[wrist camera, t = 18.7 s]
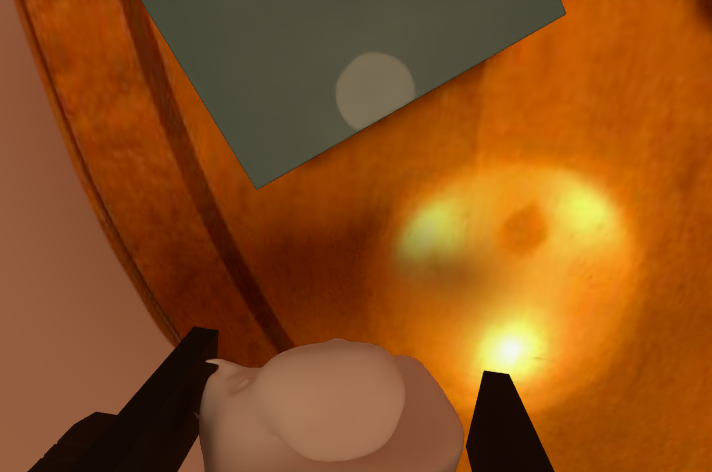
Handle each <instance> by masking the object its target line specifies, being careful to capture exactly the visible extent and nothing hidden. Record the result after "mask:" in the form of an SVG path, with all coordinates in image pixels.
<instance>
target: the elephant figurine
mask: <svg viewBox="0 0 712 472" xmlns="http://www.w3.org/2000/svg"><path fill="white" fill-rule="evenodd" d="M205 362H208V363H214V364H217V365H219V368H218V370H217V371H216V372H215V373H213V374H212V375H211V376H210V377H209V379H208V381H207V383H206V386H205V389H204V392H203V396H202V400H201V406H200V413H199V415H197V414H195V413H194V414H195V415H196V417H197V418H198V419H199V436H200V444H201V449H202V453H203V459H204V467H205V472H455V471H456V468H457V466H458V463H459V460H460V457H461V454H462V450H463V444H464V432H463V427H462V424H461V421H460V419H459V417H458V415H457V413H456V411H455V409H454V407H453V406H452V404H451V403H450V401H449V399H448V398H447V396H446V394H445V393H444V391H443V390H442V388H441V387H440V385H439V384H438V382H437V381H436V380H435V378H434V377H433V376H432V375H431V373H430V372H429V371H428V370H427V368H426V367H425V366H424V365H423V364H422V363H421V362H419V361H418V360H417V359H415V358H412V357H409V356H404V355H399V356H394V357H393V356H392V355H391V354H390V353H389V352H388V351H387V350H386V349H384V348H382V347H380V346H378V345H375V344H372V343H364V342H349V341H347V340H345V339H341V338H335V339H331V340H329V341H327V342H324V343H315V344H308V345H303V346H299V347H296V348H292V349H289V350H287V351H285V352H282V353H280V354H278V355H276V356H275V357H273V358H272V359H270V360H269V361H268V362H267V363H266V364H265V365H264V366H263V367H262V368H248V367H243V366H240V365H238V364H236V363H233V362H228V361H226V360H224V359H212V360H207V361H205Z"/></svg>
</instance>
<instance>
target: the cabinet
mask: <svg viewBox="0 0 712 472" xmlns="http://www.w3.org/2000/svg"><path fill="white" fill-rule="evenodd" d="M141 2H142V3H143V5H144V6H145V8H146V10H147V11H148V13H149V15H150V16H151V18H152V20H153V21H154V23H155V25H156V26H157V28H158V29H159V31H160V33H161V34H162V36H163V38H164V39H165V41H166V43H167V44H168V46H169V48H170V49H171V51H172V52H173V54H174V56H175V57H176V59H177V61H178V62H179V64H180V66H181V67H182V69H183V70H184V72H185V74H186V75H187V77H188V79H189V80H190V82H191V84H192V85H193V87H194V89H195V90H196V92H197V93H198V95H199V97H200V98H201V100H202V102H203V103H204V105H205V107H206V108H207V110H208V111H209V113H210V115H211V116H212V118H213V120H214V121H215V123H216V125H217V126H218V128H219V130H220V131H221V133H222V134H223V136H224V138H225V139H226V141H227V143H228V144H229V146H230V148H231V149H232V151H233V153H234V154H235V156H236V157H237V159H238V161H239V162H240V164H241V166H242V167H243V169H244V171H245V172H246V174H247V175H248V177H249V179H250V180H251V182H252V184H253V185H254V187H255V189H256V190H258V189H260V188H261V187H263V186H265V185H267V184H268V183H270V182H272V181H274V180H275V179H277V178H279V177H281V176H283V175H284V174H286V173H288V172H290V171H291V170H293V169H295V168H297V167H298V166H300V165H302V164H304V163H305V162H307V161H309V160H311V159H312V158H314V157H316V156H318V155H319V154H321V153H323V152H325V151H326V150H328V149H330V148H332V147H334V146H335V145H337V144H339V143H341V142H342V141H344V140H346V139H348V138H349V137H351V136H353V135H355V134H356V133H358V132H360V131H362V130H363V129H365V128H367V127H369V126H370V125H372V124H374V123H376V122H377V121H379V120H381V119H383V118H385V117H386V116H388V115H390V114H392V113H393V112H395V111H397V110H399V109H400V108H402V107H404V106H406V105H407V104H409V103H411V102H413V101H414V100H416V99H418V98H420V97H421V96H423V95H425V94H427V93H428V92H430V91H432V90H434V89H436V88H437V87H439V86H441V85H443V84H444V83H446V82H448V81H450V80H451V79H453V78H455V77H457V76H458V75H460V74H462V73H464V72H465V71H467V70H469V69H471V68H472V67H474V66H476V65H478V64H479V63H481V62H483V61H485V60H487V59H488V58H490V57H492V56H494V55H495V54H497V53H499V52H501V51H502V50H504V49H506V48H508V47H509V46H511V45H513V44H515V43H516V42H518V41H520V40H522V39H523V38H525V37H527V36H529V35H531V34H532V33H534V32H536V31H538V30H539V29H541V28H543V27H545V26H546V25H548V24H550V23H552V22H553V21H555V20H557V19H559V18H560V17H562V16H564V15H565V14H566V11H565V9H564V7H563V4H562V2H561V0H141Z"/></svg>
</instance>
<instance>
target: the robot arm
mask: <svg viewBox="0 0 712 472" xmlns="http://www.w3.org/2000/svg"><path fill="white" fill-rule="evenodd" d="M218 333H219V330H213V329H206V328H200V327H193V328H192V330H191V331H190V332H189V333H188V334H187V335H186V336H185V338H184V339H183V340H182V341H181V342H180V343H179V345H178V346H177V347H176V348H175V349H174V350H173V352H172V353H171V354H170V355H169V356H168V357H167V358H166V360H165V361H164V362H163V363H162V364H161V365H160V366H159V368H158V369H157V370H156V371H155V372H154V373H153V374H152V376H151V377H150V378H149V379H148V380H147V381H146V383H145V384H144V385H143V386H142V387H141V388H140V390H139V391H138V392H137V393H136V394H135V395H134V396H133V398H132V399H131V400H130V401H129V402H128V403H127V404H126V406H125V407H124V408H123V409H122V410H121V411H120V412H119V414H118V415H114V414H107V413H101V412H95V413H93V414H91V415H90V416H88V417H86V418H84V419H83V420H81V421H79V422H77V423H76V424H74V425H73V426H72V427H71V428H70V429H69V430H68V431H67V432H66V433H65V434H64V435H63V436H62V437H61V438H60V439H59V440H58V443H57V444H54V445H53V446H52V447H51V448H50V449H49V450H48V451H47V452H46V454H44V457H43V458H41V459H40V460H39V461H38V462H37V463H36V464H35V465H34V466H33V467H32V468H31V469H30V470H29V471H28V472H178V470H179V468H180V466H181V464H182V463H183V461H184V459H185V458H186V456H187V454H188V452H189V450H190V449H191V447H192V445H193V444H194V442H195V440H196V438H197V437H198V435H199V419H198V418H197V417H196V415H195V414H197V415H199V413H200V406H201V400H202V396H203V392H204V389H205V386H206V383H207V381H208V379H209V377H210V376H211V375H212V374H213V373H215V372H216V367H217V364H214V363H208V362H205V361H207V360H212V359H217V350H218ZM194 413H195V414H194ZM466 449H467V453H468V457H469V462H470V466H471V470H472V472H554V470H553V467H552V465H551V463H550V461H549V459H548V457H547V455H546V452H545V450H544V448H543V446H542V444H541V442H540V440H539V437H538V435H537V433H536V431H535V429H534V427H533V425H532V422H531V420H530V418H529V416H528V414H527V412H526V409H525V407H524V405H523V403H522V401H521V399H520V397H519V394H518V392H517V390H516V388H515V386H514V384H513V382H512V379H511V377H510V375H509V374H504V373H497V372H491V371H484V372H483V376H482V380H481V385H480V389H479V393H478V397H477V401H476V406H475V410H474V414H473V418H472V422H471V427H470V431H469V435H468V439H467V443H466Z"/></svg>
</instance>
